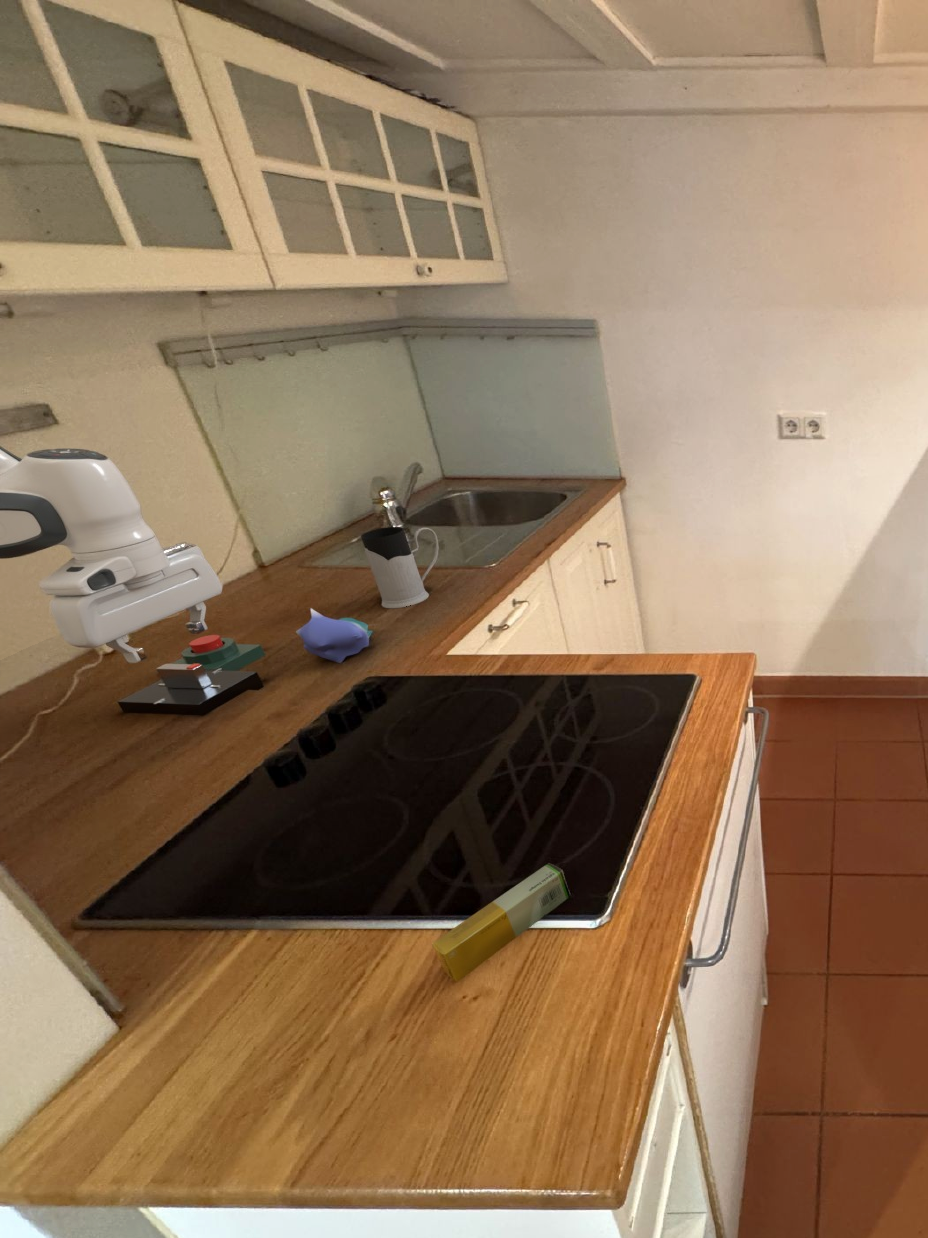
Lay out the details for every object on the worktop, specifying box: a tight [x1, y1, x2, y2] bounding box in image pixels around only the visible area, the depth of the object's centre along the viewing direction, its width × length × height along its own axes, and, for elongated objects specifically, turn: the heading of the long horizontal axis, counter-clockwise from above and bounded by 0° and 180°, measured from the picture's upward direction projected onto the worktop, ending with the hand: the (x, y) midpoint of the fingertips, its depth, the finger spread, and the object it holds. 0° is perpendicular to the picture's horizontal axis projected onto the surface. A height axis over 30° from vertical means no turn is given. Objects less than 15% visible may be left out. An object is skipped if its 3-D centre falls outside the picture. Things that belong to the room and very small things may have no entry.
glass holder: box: [360, 526, 440, 609], centre depth 143 cm, size 9×14×15 cm, turn 146°
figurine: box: [295, 608, 374, 664], centre depth 120 cm, size 13×12×9 cm
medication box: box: [431, 862, 571, 983], centre depth 65 cm, size 12×3×4 cm, turn 145°
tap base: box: [117, 668, 265, 717], centre depth 108 cm, size 14×11×3 cm
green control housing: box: [170, 637, 266, 671], centre depth 118 cm, size 10×9×4 cm
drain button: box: [188, 634, 223, 653], centre depth 117 cm, size 4×4×2 cm
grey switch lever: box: [155, 663, 212, 689], centre depth 106 cm, size 6×2×4 cm, turn 84°
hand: (170, 645), depth 104 cm, fingers open, 8 cm apart
